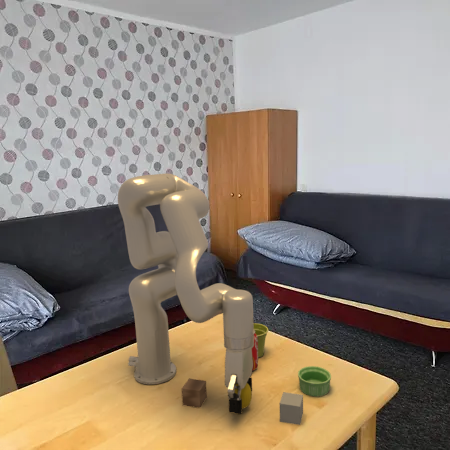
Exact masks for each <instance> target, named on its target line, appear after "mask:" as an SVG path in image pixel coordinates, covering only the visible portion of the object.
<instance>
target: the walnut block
mask: <svg viewBox="0 0 450 450" xmlns="http://www.w3.org/2000/svg"><path fill="white" fill-rule="evenodd" d="M207 391H208V390H207V380H202V379H195V378H188V379H187V381H186V382H185V383H184V384H183V385H182V387H181V399H182V401H181V402H182V403H181V404H182V406H184V407H189V408H190V407H191V408H197V409H201V408H202V406H203V404H204V403H205V401H206V399H207V397H208V394H207Z"/></svg>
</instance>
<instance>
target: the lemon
mask: <svg viewBox="0 0 450 450" xmlns="http://www.w3.org/2000/svg"><path fill="white" fill-rule="evenodd" d="M235 386H239V384H236V385H235ZM234 391H235V392H234V393H236V394H237V395H238V389H234ZM252 392H253V391H252ZM252 392H251V388H250V386H249V384H248V383H246V385H245V387H244V388H243V389H242V390H241V397H240V398H242V410H243V409H246V408H247V407H248V406H250V404H251V401H252V397H253V396H252V395H253V394H252Z"/></svg>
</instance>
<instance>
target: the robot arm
mask: <svg viewBox="0 0 450 450" xmlns="http://www.w3.org/2000/svg"><path fill="white" fill-rule="evenodd" d="M117 205H118V208H119V209H118V210H119V211H120V214H121V218H122V220H123V225H124V230H125V232H124V233H125V238H126V239H125V240H126V244H127V251H128V253H127V254H128V256H129V262H130V264H131V266H132V267H133V268H134V269H136V270H145V269H151V268H153V267H156V266H157V267H158V268H157V269H153V270H150V271H147V272H144V273H142V274H141V273H140V274H139V275H137V276H135V277H134V278H133V279H132V280H131V282H130V283H129V285H128V295H129V298H130V303H131V306H132V310H133V315H134V316H133V317H134V323H135V324H134V325H135V326H134V327H135V336H136V338H135V339H136V347H137V348H136V350H137V356H134V355H133V356H132V355H130V356H129V357H128V363H127V365H128V366H129V367H134V368H135V370H134V372H133V376H134V379H135V381H137V382H138V383H140V384H144V385H158V384H163V383H166V382H168V381H170V380H171V379H172V378H173V377H175V376H176V374H177V366H176V364H175V363H173V362H172V361H171V350H170V349H171V348H170V334H169V322H168V321H169V320H168V315H167V312H166V310H164V308H163V307H162V304H161V303H162V302H165V301H166V300H168V299H171V298H173V297H174V296H177V297H178V299H179V302H180V304H181V307H182V309H183V311H184V313H185V315H186V316H187V317H188V319H189V320H191V321H192V322H193V323H197V324H202V323H205V322H208V321H210V320H212V319H213V318H215V317H217V316H219V315H221V314H222V322H223V323H222V325H223V346H224V348H225V349H226V350H225V356H224V386H225V388H227V396H228V411H229V413H231V414H237V415H241V414H243V409H242V398H240V397H241V390H242V389H243V388H244V387H245V385H246V383H248V384H249V386H250V388H251V392H253V377H252V376H253V371H252V348H253V346H254V325H253V323H254V299H253V298H254V297H253V295H252V293H251V292H250V291H249V290H244V289H236V288H234V287H232V286H230V285H227V284H225V283H221V282H219V283H214V284H212V285H209V286H207V287H204V288H202V289H200V287H199V284H198V281H197V280H198V279H197V267H198V263H199V262H200V259H201V258H202V256H203V254H204V253H205V252H206V250H207V248H208V246H209V241H208V239H207V237H206V234H205V231H204V228H203V227H202V224H201V222H200V219H203V218H205V217H206V216H207V215H208V213H209V211H210V202H209V199H208V197H207V196H206V194H205V193H204V192H203V191H202V190H201V189H199V188H198V187H197V186H195V185H194V184H191V183H190V182H188V181H186V180H184V179H183V178H181V177H179V176H177V175H175V174H174V173H167V172H165V173H157V174H147V175H145V174H144V175H143V174H142V175H138V176H133V177H130V178H128V179H126V180H125V181H124V182H122V184H121V185H120V187H119V189H118V193H117ZM155 205H156V206H157V205H159V208H160V209H159V210H160V213H161V216H162V218H163V221H164V224H165V226H166V229H167V230H162V231H158V232H156V231H157V230H156V224H155V220H154V217H153V215H152V214H151V212H150V210H149V209H148V208H147V207H149V206H155ZM236 384H239V386H235V385H236ZM234 389H238V395H237V394H236V393H234V392H235V391H234Z"/></svg>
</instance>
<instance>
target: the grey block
mask: <svg viewBox="0 0 450 450" xmlns="http://www.w3.org/2000/svg"><path fill="white" fill-rule="evenodd" d="M303 415H304V394H300V393H299V394H298V393H292V392H286V391H285V392H284V391H283V392H282V395H281V398H280V401H279V422H281V423H286V424H292V425H299V426H301V424H302V419H303Z"/></svg>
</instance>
